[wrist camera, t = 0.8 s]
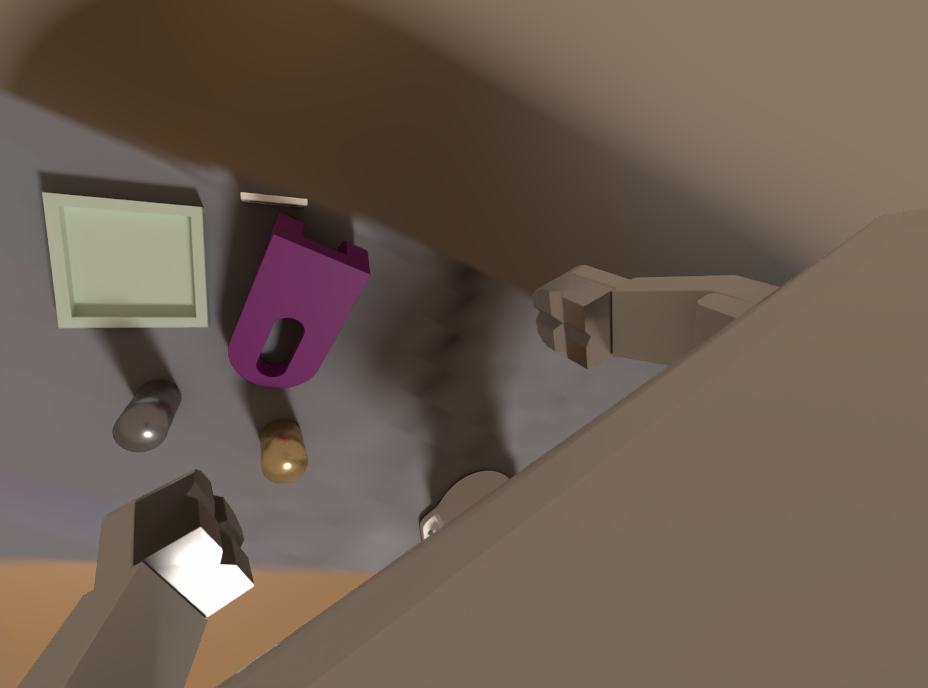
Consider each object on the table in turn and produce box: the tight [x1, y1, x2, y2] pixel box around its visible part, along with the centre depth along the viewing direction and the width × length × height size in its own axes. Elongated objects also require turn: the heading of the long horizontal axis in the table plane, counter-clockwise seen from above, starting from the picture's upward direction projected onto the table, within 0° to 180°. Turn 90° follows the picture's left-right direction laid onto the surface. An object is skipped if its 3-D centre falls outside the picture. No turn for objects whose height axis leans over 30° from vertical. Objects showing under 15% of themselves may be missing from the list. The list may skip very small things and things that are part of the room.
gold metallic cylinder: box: [261, 419, 308, 484], centre depth 51 cm, size 5×5×7 cm
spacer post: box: [113, 380, 181, 452], centre depth 43 cm, size 4×4×9 cm
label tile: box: [241, 192, 307, 208], centre depth 45 cm, size 1×6×5 cm, turn 85°
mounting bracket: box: [228, 212, 370, 388], centre depth 49 cm, size 9×8×18 cm
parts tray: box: [42, 192, 210, 328], centre depth 43 cm, size 12×12×2 cm
